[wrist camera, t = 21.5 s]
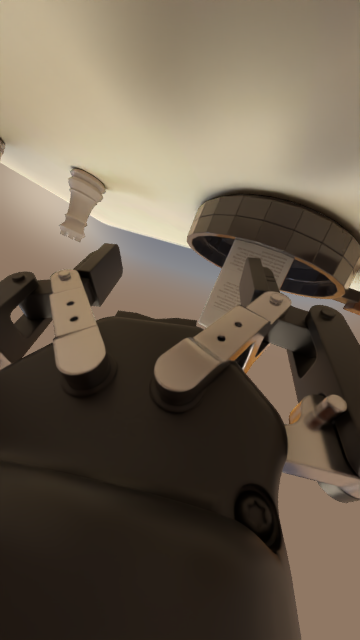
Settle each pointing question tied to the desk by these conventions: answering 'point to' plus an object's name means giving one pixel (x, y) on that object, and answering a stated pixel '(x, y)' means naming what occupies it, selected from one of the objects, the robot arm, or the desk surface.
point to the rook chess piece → (81, 202)
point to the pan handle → (351, 301)
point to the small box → (230, 276)
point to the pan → (280, 240)
